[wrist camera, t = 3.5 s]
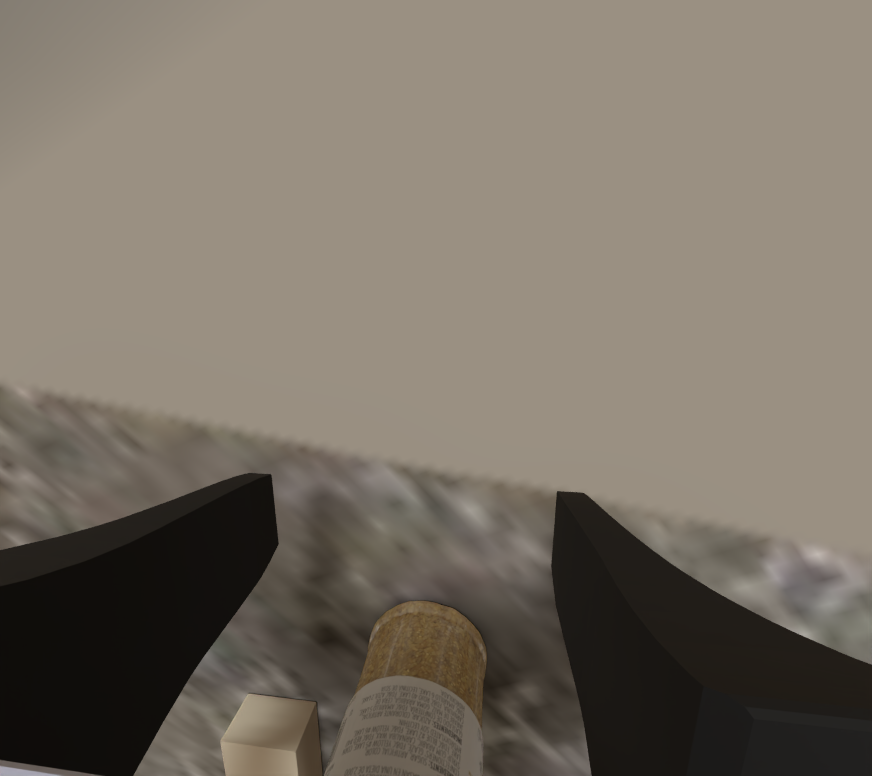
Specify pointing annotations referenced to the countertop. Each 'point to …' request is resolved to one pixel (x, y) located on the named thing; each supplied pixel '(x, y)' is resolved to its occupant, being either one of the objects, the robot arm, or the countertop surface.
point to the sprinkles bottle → (416, 698)
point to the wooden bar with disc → (273, 738)
